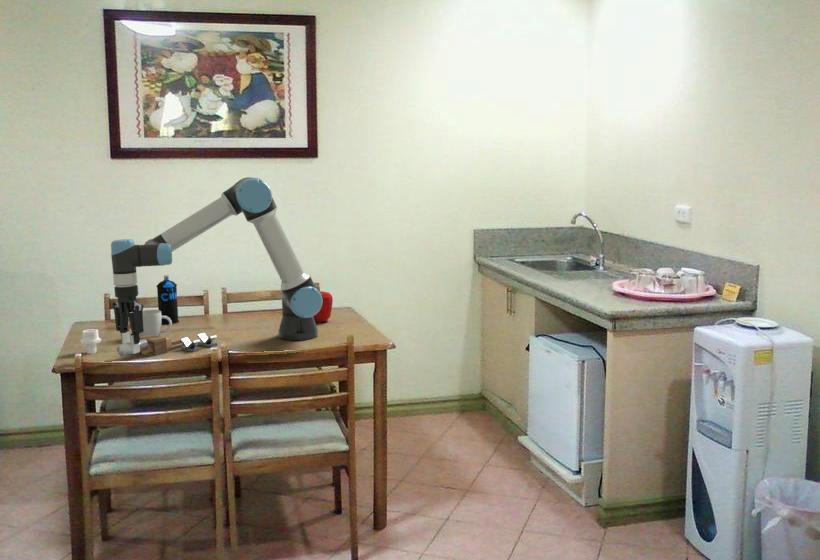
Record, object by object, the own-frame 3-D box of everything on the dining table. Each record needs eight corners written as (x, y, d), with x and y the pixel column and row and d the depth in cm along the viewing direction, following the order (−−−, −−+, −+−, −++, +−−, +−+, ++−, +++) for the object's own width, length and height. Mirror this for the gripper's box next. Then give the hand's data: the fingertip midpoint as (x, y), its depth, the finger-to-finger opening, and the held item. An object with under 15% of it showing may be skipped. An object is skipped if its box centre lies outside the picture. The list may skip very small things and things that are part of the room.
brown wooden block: (171, 349, 282) (171, 338, 281) (148, 355, 273) (147, 344, 272) (165, 348, 283) (164, 337, 283) (141, 354, 275) (141, 343, 274)
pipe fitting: (99, 354, 274) (98, 332, 273) (78, 355, 273) (76, 332, 272) (104, 350, 280) (103, 328, 279) (84, 350, 280) (82, 328, 278)
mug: (138, 341, 294) (136, 315, 292) (138, 336, 302) (136, 310, 301) (173, 338, 298) (171, 312, 296) (172, 333, 306) (170, 308, 305)
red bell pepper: (337, 321, 327) (337, 289, 325) (317, 324, 320) (316, 292, 318) (323, 317, 335) (323, 286, 333) (303, 320, 328) (302, 289, 326)
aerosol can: (155, 322, 327) (152, 275, 324) (174, 319, 332) (171, 273, 329) (163, 325, 321) (160, 277, 318) (182, 322, 326) (179, 275, 323)
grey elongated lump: (140, 347, 275) (141, 337, 273) (148, 351, 273) (149, 341, 272) (116, 353, 266) (117, 343, 265) (124, 357, 264) (124, 346, 263)
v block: (217, 345, 286) (217, 335, 285) (194, 352, 277) (193, 341, 276) (203, 343, 290) (203, 332, 289) (180, 349, 280) (179, 338, 280)
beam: (197, 344, 288) (196, 330, 287) (150, 356, 271) (150, 341, 270) (180, 341, 293) (179, 327, 292) (133, 353, 275) (133, 338, 274)
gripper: (151, 285, 263) (156, 352, 267) (119, 281, 272) (124, 346, 276) (133, 288, 257) (138, 357, 261) (100, 285, 266) (106, 351, 270)
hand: (131, 351), depth 269 cm, fingers closed on grey elongated lump, 4 cm apart
